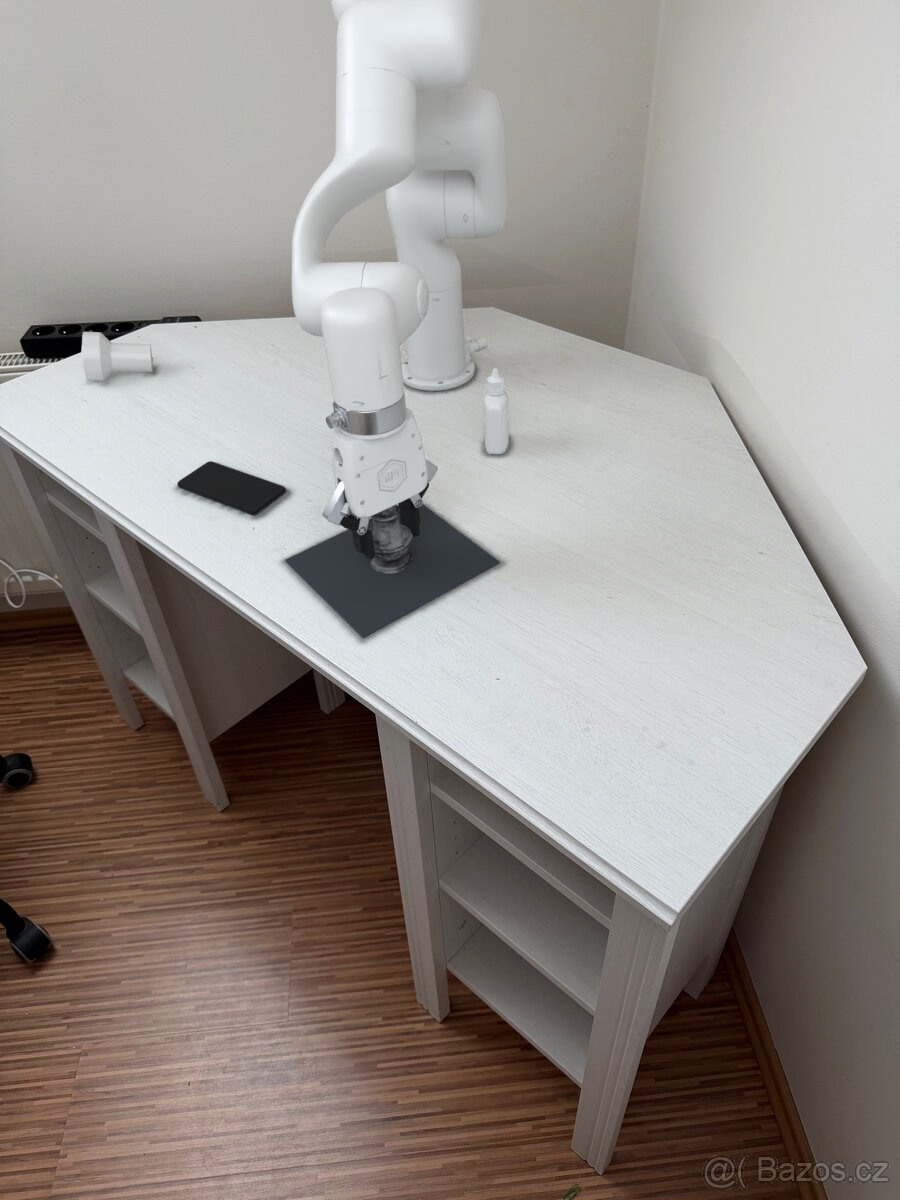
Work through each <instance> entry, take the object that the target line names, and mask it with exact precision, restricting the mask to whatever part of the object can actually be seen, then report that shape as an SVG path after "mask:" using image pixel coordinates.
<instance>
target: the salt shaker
mask: <svg viewBox="0 0 900 1200" xmlns="http://www.w3.org/2000/svg"><path fill="white" fill-rule="evenodd" d="M399 513H400V509H399V507H398V504H396V505H394V506H392V507H390V508H388V509H385V510H383V511H381V512H379V513H377V514H375V515H372V516H370V519H371V518H373V524H374V527H372V528H371V529H370V531H371V532H372V537H373V543H374V550H375V557H374V558H373V559H371V560H370V565H371V567H372V568H373V569H374V570H376V571H378V572H380V573H385V574H392V573H398V572H400V571H403V570H404V569H406V568H407V567H408V566H409V565H410V564H411V562H412V554H411V553H410V551H409V550H408V548H409V546H410V542H411V540H412V532H411V531H410V529H409V528H408V527H406V526H405V525H402V524H400V523H399V520H398V515H399Z"/></svg>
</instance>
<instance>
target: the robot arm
mask: <svg viewBox="0 0 900 1200" xmlns="http://www.w3.org/2000/svg"><path fill="white" fill-rule="evenodd" d="M330 5H331V9H332V13H333V16H334V19H335V22H336V24H337V28H336V29H337V30H336V53H335V56H336V59H335V61H336V62H335V63H336V65H335V68H336V70H335V151H334V155H333V159H332V161H331V162H330V164H329V165H328V166H327V167H326V168H325V170H324V171H323V172H322V173H321V174H320V175H319V177H318V178H317V180H316V181H315V182H314V183H313V185H312V186H311V188H310V190H309V191H308V192H307V194H306V196H305V199H304V201H303V203H302V204H301V206H300V209H299V211H298V214H297V216H296V219H295V224H294V227H293V232H292V239H291V301H292V307H293V313H294V316H295V319H296V321H297V323H298V325H299V327H300V328H301V329H302V330H303V331H304V332H306V333H307V334H309V335H311V336H314V337H321V338H322V339H323V344H324V350H325V357H326V363H327V369H328V375H329V381H330V386H331V387H330V388H331V392H332V399H333V402H332V408H333V412H332V413H331V414H330V415H327V416H326V417H325V423H326V425H327V426H328V428H329V429H330V430H332V429H333V430H332V443H331V444H332V445H331V456H332V457H331V458H332V470H333V471H332V472H333V480H334V487H335V488H334V489H335V490H334V492H333V493H332V495H331V497H330V499H329V500H328V503H327V504H326V506H325V507H324V510H323V511H322V517H323V518H324V519H325V520H326V521H327V522H329V523H332V524H334V525H338V526H341V527H343V528H344V529H347V530H348V529H349V530H351V531H352V536H353V542H354V546H355V549H356V550H357V551H358V552H359V553H363V554H364V555H365V556H366V557H367V558H368V559H370V560H371V559H373V558H374V557H375V550H374V543H373V537H372V532H371V531H370V530H369V529H367V527H368V522H369V519H371V517H370V516H372V515H375V514H377V513H379V512H381V511H383V510H385V509H388V508H390V507H392V506H394V505H399V509H400V521H401V524H402V525H405V526H406V527H408V528H409V529H410V531H411V532H412V535H413V536H415V537H417V536H419V535H420V529H419V524H420V515H419V507H420V506H421V505H422V504H423V503H424V501H423V497H424V496H425V494H426V492H427V491H428V489H429V487H430V482H432V480H433V479H434V477H435V475H436V474H437V472H438V470H439V468H438V466H437V465H436V464H434V463H433V462H431V461H430V460H428V459H426V454H425V449H424V445H423V441H422V440H423V439H422V436H421V433H420V430H419V426H418V423H417V420H416V417H415V415H414V412H413V411H412V410H411V409H409V407H408V408H407V403H406V395H405V385H406V386H408V387H411V388H413V389H416V390H420V391H428V392H431V391H432V392H435V391H436V392H437V391H438V392H439V391H445V390H451V389H456V388H458V387H461V386H463V385H464V384H466V383H468V382H469V381H470V380H471V379H472V378H473V377H474V375H475V373H476V366H475V365H476V364H475V362H474V361H473V359H472V358H471V357H473V356H474V355H475V353H476V352H481V351H482V350H486V349H487V348H488V347H489V346H488V345H489V343H488V340H487V337H485V336H481V337H479V338H477V339H474V340H473V339H472V337H471V336H469V335H468V336H465V329H464V309H463V308H464V307H463V283H462V269H461V265H460V260H459V259H458V257H457V255H456V253H455V252H454V250H453V249H452V248H451V246H450V244H448V242H446V240H454V239H457V240H458V239H460V240H461V239H463V240H464V239H484V238H491V237H495V236H497V235H498V234H499V233H500V232H501V231H502V229H503V228H504V226H505V223H506V220H507V212H508V211H507V210H508V189H507V169H506V168H507V167H506V165H507V163H506V142H505V139H506V138H505V125H504V117H503V112H502V107H501V104H500V102H499V100H498V97H497V96H496V95H495V94H494V93H493V92H492V91H490V90H488V89H486V88H481V87H480V88H479V87H467V86H469V85H470V83H471V82H472V81H473V78H474V76H475V73H476V71H477V67H478V65H479V64H478V63H479V58H480V54H481V48H482V44H483V39H484V35H485V31H486V26H487V25H486V24H487V17H488V14H487V13H488V0H330ZM383 192H385V205H386V206H385V207H386V211H387V216H388V219H389V223H390V227H391V232H392V236H393V241H394V245H395V251H396V256H397V261H337V262H335V261H333V262H329V261H328V262H324V253H325V247H326V244H327V240H328V237H329V236H330V234H331V232H332V230H333V229H334V228H335V226H336V224H338V222H339V221H341V219H342V218H343V217H344V216H346V214H348V213H349V212H351V211H352V210H353V209H354V208H357V207H358V206H359V205H361V204H363V203H364V202H367V201H368V200H370V199H371V198H373V197H376V196H377V195H379V194H381V193H383ZM404 342H405V347H406V358H407V359H405V360H404V361H403V362H402V357H401V349H400V348H401V346H402V345H403V343H404ZM346 504H348V507H347V512H346V513H345V512H342V510H343V508H344V507H345V505H346Z"/></svg>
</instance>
